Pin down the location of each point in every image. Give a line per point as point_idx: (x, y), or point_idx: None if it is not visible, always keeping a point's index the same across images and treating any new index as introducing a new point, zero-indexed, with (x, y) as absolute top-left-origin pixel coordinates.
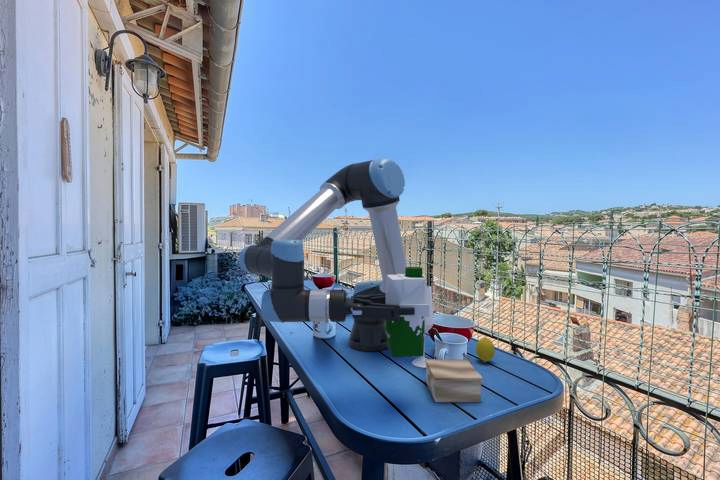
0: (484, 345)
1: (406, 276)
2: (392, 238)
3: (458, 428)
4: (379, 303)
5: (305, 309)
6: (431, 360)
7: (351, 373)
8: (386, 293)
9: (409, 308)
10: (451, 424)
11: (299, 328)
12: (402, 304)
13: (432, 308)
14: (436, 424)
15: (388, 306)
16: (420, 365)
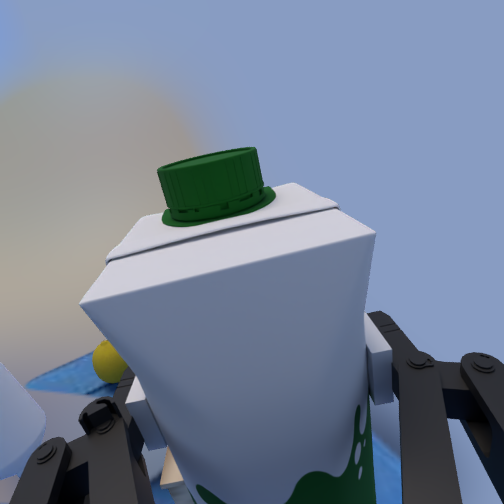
0: (118, 353)
1: (240, 212)
2: None
3: (390, 451)
4: (406, 494)
5: None
6: (172, 464)
7: None
8: (260, 403)
9: (386, 326)
10: (381, 464)
11: None
12: (379, 339)
13: (12, 375)
14: (398, 500)
15: (444, 414)
16: None
